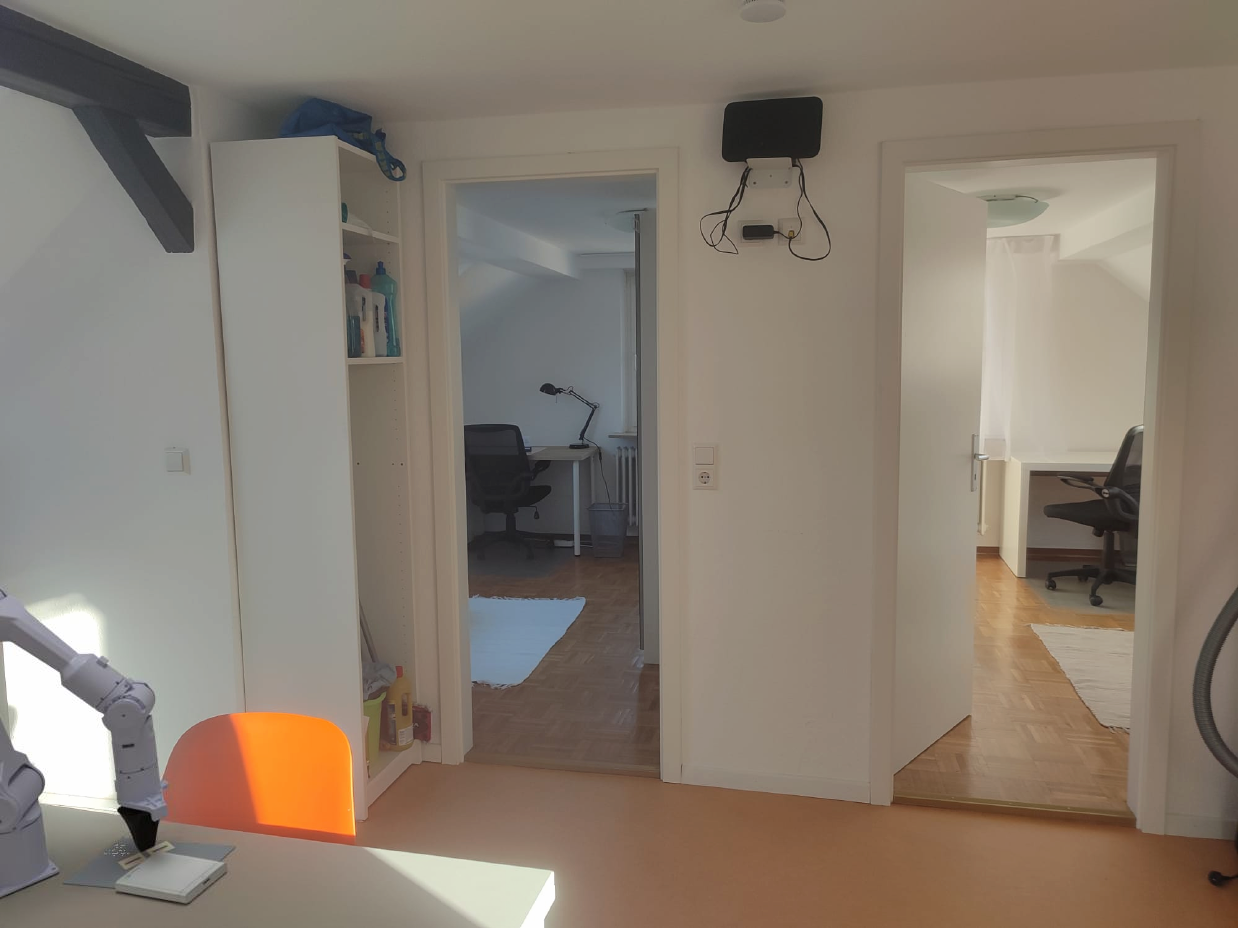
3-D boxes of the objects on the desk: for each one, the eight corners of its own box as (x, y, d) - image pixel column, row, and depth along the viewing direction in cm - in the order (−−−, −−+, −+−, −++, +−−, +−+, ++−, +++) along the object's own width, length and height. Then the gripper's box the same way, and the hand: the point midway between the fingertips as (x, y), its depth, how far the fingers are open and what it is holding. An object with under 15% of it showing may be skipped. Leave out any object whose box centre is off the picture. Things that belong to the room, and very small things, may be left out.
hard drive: (114, 881, 126) (185, 893, 123) (158, 849, 134) (226, 860, 130) (115, 892, 126) (186, 904, 123) (160, 859, 134) (227, 870, 130)
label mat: (63, 883, 129) (63, 882, 129) (122, 837, 141) (122, 836, 141) (185, 894, 125) (185, 893, 125) (235, 846, 137) (235, 845, 137)
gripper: (184, 767, 131) (193, 852, 133) (144, 741, 141) (153, 820, 143) (134, 786, 126) (144, 874, 128) (96, 758, 135) (106, 840, 137)
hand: (146, 847), depth 135 cm, fingers closed
